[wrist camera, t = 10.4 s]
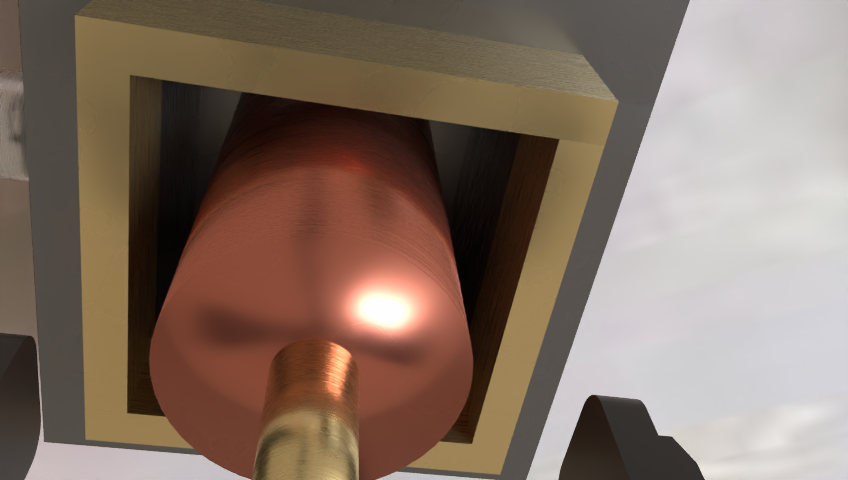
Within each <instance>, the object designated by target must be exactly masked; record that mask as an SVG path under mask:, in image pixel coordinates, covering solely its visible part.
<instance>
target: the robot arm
mask: <svg viewBox="0 0 848 480" xmlns="http://www.w3.org/2000/svg"><path fill="white" fill-rule="evenodd" d="M40 426H41V414H40V398H39V382H38V365H37V350H36V343H35V340H34V338H33V337H32V336H25V335H16V334H6V333H0V480H24V479H25V477H26V475H27V473H28V471H29V469H30V467H31V464H32V462H33V459H34V456H35V453H36V449H37V445H38V440H39V435H40ZM559 480H705V479H704V477H703V475H702V473H701V471H700V469H699V467H698V465H697V463H696V462H695V461H694V460H693V459H692V458H691V457H690V455H689V454H688V453H687V452H686V451H685V450H684V449H683V448H682V447H681V446H680V445H679V444H678V443H677V442H676V441H675V440H674V439H673V437H669V436H659V435H658V433H657V431H656V429H655V427H654V425H653V422H652V420H651V418H650V416H649V413H648V411H647V409H646V407H645V405H644V404H643V402H642V401H640V400H638V399H629V398H619V397H609V396H599V395H591V396H589V397H588V399H587V400H586V402H585V404H584V406H583V409H582V411H581V414H580V417H579V420H578V422H577V425H576V428H575V430H574V433H573V436H572V439H571V441H570V444H569V447H568V449H567V452H566V455H565V458H564V460H563V463H562V466H561V470H560V475H559Z"/></svg>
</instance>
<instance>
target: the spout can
mask: <svg viewBox="0 0 848 480" xmlns="http://www.w3.org/2000/svg"><path fill="white" fill-rule="evenodd" d="M149 365H150V377H151V381H152V385H153V390H154V393H155V395H156V398H157V400H158V403H159V405H160V408H161V409H162V411H163V413H164V414H165V416H166V418H167V419H168V421H169V423H170V424H171V425H172V426H173V427H174V429H175V430H176V431H177V432H178V434H179V435H180V436H181V437H182V438H183V439H184V440H185V441H186V442H187V443H188V444H189V445H191V446H192V447H193V448H194V449H195V450H196V451H198V452H199V453H200V454H202V455H203V456H205V457H206V458H207V459H209V460H210V461H212V462H214V463H216V464H217V465H219V466H221V467H223V468H224V469H227V470H229V471H231V472H233V473H236V474H238V475H240V476H243V477H246V478H249V479H252V480H376V479H378V478H381V477H384V476H387V475H389V474H392V473H394V472H396V471H398V470H400V469H402V468H404V467H406V466H408V465H409V464H411V463H412V462H414V461H416V460H417V459H419V458H420V457H422V456H423V455H424V454H426V453H427V452H428V451H429V450H431V449H432V448H433V447H434V446H435V445H436V444H437V443H438V442H439V441H440V440H441V439H442V438H443V437H444V436H445V435H446V434H447V433H448V431H449V430H450V429H451V427H452V426H453V425H454V423H455V422H456V421H457V419H458V417H459V415H460V413H461V411H462V410H463V408H464V406H465V403H466V400H467V397H468V395H469V392H470V388H471V382H472V377H473V354H472V347H471V341H470V335H469V330H468V325H467V320H466V314H465V309H464V304H463V298H462V293H461V288H460V282H459V277H458V272H457V266H456V261H455V256H454V251H453V245H452V240H451V235H450V229H449V224H448V219H447V213H446V208H445V203H444V198H443V192H442V187H441V182H440V176H439V171H438V166H437V160H436V155H435V150H434V144H433V139H432V134H431V129H430V123H429V119H422V118H415V117H409V116H402V115H395V114H389V113H382V112H375V111H369V110H362V109H355V108H349V107H342V106H335V105H329V104H322V103H315V102H309V101H302V100H295V99H289V98H282V97H275V96H269V95H262V94H255V93H249V92H242V94H241V97H240V100H239V102H238V105H237V108H236V110H235V113H234V116H233V118H232V121H231V124H230V126H229V129H228V132H227V135H226V137H225V140H224V143H223V145H222V148H221V151H220V153H219V156H218V159H217V161H216V164H215V167H214V170H213V172H212V175H211V178H210V180H209V183H208V186H207V188H206V191H205V194H204V197H203V199H202V202H201V205H200V207H199V210H198V213H197V215H196V218H195V221H194V223H193V226H192V229H191V232H190V234H189V237H188V240H187V242H186V245H185V248H184V250H183V253H182V256H181V258H180V261H179V264H178V267H177V269H176V272H175V275H174V277H173V280H172V283H171V285H170V288H169V291H168V294H167V296H166V299H165V302H164V304H163V307H162V310H161V312H160V315H159V318H158V320H157V323H156V326H155V330H154V333H153V337H152V340H151V346H150V355H149Z"/></svg>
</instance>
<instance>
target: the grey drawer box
mask: <svg viewBox="0 0 848 480" xmlns="http://www.w3.org/2000/svg"><path fill="white" fill-rule="evenodd" d="M689 1H690V0H18V6H19V23H20V40H21V57H22V72H17V71H11V70H4V69H0V178H1V179H9V180H16V181H24V182H29V192H30V209H31V226H32V243H33V260H34V277H35V294H36V311H37V328H38V345H39V362H40V379H41V395H42V412H43V429H44V442H51V443H63V444H75V445H87V446H99V447H111V448H123V449H135V450H147V451H159V452H171V453H183V454H195V455H202V454H200V453H199V452H198V451H196V450H195V449H194V448H193V447H192V446H191V445H189V444H188V443H187V442H186V441H185V440H184V439H183V438H182V437H181V436H180V435H179V434H178V432H177V431H176V430H175V429H174V427H173V426H172V425H171V424H170V423H169V421H168V419H167V418H166V416H165V414H164V413H163V411H162V409H161V408H160V405H159V403H158V400H157V398H156V395H155V393H154V390H153V385H152V381H151V377H150V365H149V355H150V346H151V340H152V337H153V333H154V330H155V326H156V323H157V320H158V318H159V315H160V312H161V310H162V307H163V304H164V302H165V299H166V296H167V294H168V291H169V288H170V285H171V283H172V280H173V277H174V275H175V272H176V269H177V267H178V264H179V261H180V258H181V256H182V253H183V250H184V248H185V245H186V242H187V240H188V237H189V234H190V232H191V229H192V226H193V223H194V221H195V218H196V215H197V213H198V210H199V207H200V205H201V202H202V199H203V197H204V194H205V191H206V188H207V186H208V183H209V180H210V178H211V175H212V172H213V170H214V167H215V164H216V161H217V159H218V156H219V153H220V151H221V148H222V145H223V143H224V140H225V137H226V135H227V132H228V129H229V126H230V124H231V121H232V118H233V116H234V113H235V110H236V108H237V105H238V102H239V100H240V97H241V94H242V92H249V93H255V94H262V95H269V96H275V97H282V98H289V99H295V100H302V101H309V102H315V103H322V104H329V105H335V106H342V107H349V108H355V109H362V110H369V111H375V112H382V113H389V114H395V115H402V116H409V117H415V118H422V119H429V123H430V129H431V134H432V139H433V144H434V150H435V155H436V160H437V166H438V171H439V176H440V182H441V187H442V192H443V198H444V203H445V208H446V213H447V219H448V224H449V229H450V235H451V240H452V245H453V251H454V256H455V261H456V266H457V272H458V277H459V282H460V288H461V293H462V298H463V304H464V309H465V314H466V320H467V325H468V330H469V335H470V341H471V347H472V354H473V377H472V382H471V388H470V392H469V395H468V397H467V400H466V403H465V406H464V408H463V410H462V411H461V413H460V415H459V417H458V419H457V421H456V422H455V423H454V425H453V426H452V427H451V429H450V430H449V431H448V433H447V434H446V435H445V436H444V437H443V438H442V439H441V440H440V441H439V442H438V443H437V444H436V445H435V446H434V447H433V448H432V449H431V450H429V451H428V452H427V453H426V454H424V455H423V456H422V457H420V458H419V459H417V460H416V461H414V462H412V463H411V464H409V465H408V466H406V467H404V468H402V469H400V470H398V472H410V473H422V474H434V475H446V476H458V477H470V478H482V479H494V480H526V478H527V475H528V473H529V470H530V467H531V464H532V461H533V458H534V455H535V452H536V449H537V446H538V443H539V440H540V437H541V434H542V432H543V429H544V426H545V423H546V420H547V417H548V414H549V411H550V408H551V405H552V402H553V399H554V396H555V393H556V390H557V388H558V385H559V382H560V379H561V376H562V373H563V370H564V367H565V364H566V361H567V358H568V355H569V352H570V349H571V347H572V344H573V341H574V338H575V335H576V332H577V329H578V326H579V323H580V320H581V317H582V314H583V311H584V308H585V306H586V303H587V300H588V297H589V294H590V291H591V288H592V285H593V282H594V279H595V276H596V273H597V270H598V267H599V264H600V262H601V259H602V256H603V253H604V250H605V247H606V244H607V241H608V238H609V235H610V232H611V229H612V226H613V223H614V221H615V218H616V215H617V212H618V209H619V206H620V203H621V200H622V197H623V194H624V191H625V188H626V185H627V182H628V180H629V177H630V174H631V171H632V168H633V165H634V162H635V159H636V156H637V153H638V150H639V147H640V144H641V141H642V138H643V136H644V133H645V130H646V127H647V124H648V121H649V118H650V115H651V112H652V109H653V106H654V103H655V100H656V97H657V95H658V92H659V89H660V86H661V83H662V80H663V77H664V74H665V71H666V68H667V65H668V62H669V59H670V56H671V54H672V51H673V48H674V45H675V42H676V39H677V36H678V33H679V30H680V27H681V24H682V21H683V18H684V15H685V12H686V10H687V7H688V4H689Z"/></svg>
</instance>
